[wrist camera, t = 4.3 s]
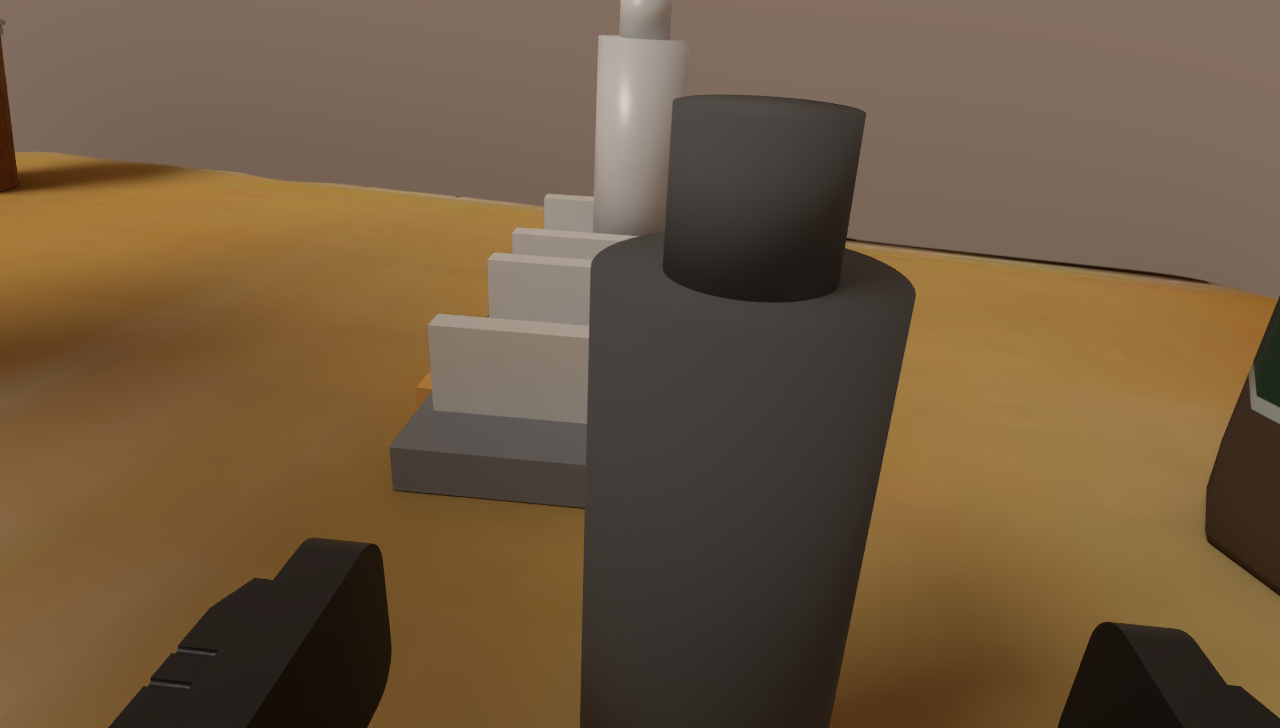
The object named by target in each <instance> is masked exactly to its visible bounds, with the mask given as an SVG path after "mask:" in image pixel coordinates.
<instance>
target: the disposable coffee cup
mask: <svg viewBox="0 0 1280 728" xmlns="http://www.w3.org/2000/svg"><path fill="white" fill-rule="evenodd" d="M2 25H5V21H4V20H0V35H2V34H3V29H2ZM2 52H3V51H2V45H1V36H0V191H3V190H7V189H9V188H12V187H14V186H16V185H18V184H19V182H18V176H17V167H16V160H15V152H14V143H13V135H12V126H11V118H10V110H9V102H8V94H7V85H6V78H5V70H4V61H3V53H2Z"/></svg>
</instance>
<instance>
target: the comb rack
mask: <svg viewBox="0 0 1280 728" xmlns="http://www.w3.org/2000/svg"><path fill="white" fill-rule="evenodd" d="M593 207H594V197H586V196H571V195H558V194H547V196H546V197H545V198H544V229H532V228H518V227H517V228H516V229H515V230H514V231H513V233H512V254H506V253H493V254H492V255H491V257H490V258H489V259H488V260H487V262H488V293H489V316H488V317H487V318H485V317H472V316H460V315H447V314H437V315H436V316H435V318H434V319H433V320H432V321H431V322H430V323H429V324H428V339H429V354H430V369H431V370H430V371H429V372H428V374H427V375H426V376H425V377H424V379H423V380H422V381H421V382H420V384H419V385H418V386H417V387H416V390H417V403H418V410H417V411H416V413H415V414H414V415H413V417H412V418H411V419H410V421H409V422H408V423H407V425H406V426H405V427H404V429H403V430H402V431H401V433H400V434H399V435H398V437H397V438H396V439H395V441H394V442H393V443H392V445H391V446H390V458H391V469H392V479H393V490H401V491H411V492H422V493H432V494H443V495H454V496H464V497H475V498H485V499H496V500H506V501H517V502H527V503H538V504H548V505H559V506H570V507H580V508H585V487H586V443H587V400H588V356H589V312H590V269H591V262H592V261H593V259H594V257H595V256H596V255H597V254H598V253H599V252H600V251H602V250H603V249H605V248H607V247H608V246H611V245H613V244H615V243H618V242H620V241H624V240H627V239H630V238H634V237H639V236H629V235H615V234H601V233H593Z"/></svg>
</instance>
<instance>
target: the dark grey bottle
mask: <svg viewBox="0 0 1280 728" xmlns="http://www.w3.org/2000/svg"><path fill="white" fill-rule="evenodd" d="M865 117H866V113H865V112H864V111H862V110H859V109H857V108H853V107H849V106H844V105H839V104H833V103H827V102H820V101H813V100H804V99H795V98H783V97H768V96H751V95H695V96H685V97H679V98H676V99H674V100H673V105H672V122H671V138H670V154H669V170H668V187H667V203H666V219H665V232H663V233H655V234H649V235H643V236H639V237H634V238H630V239H627V240H624V241H620V242H618V243H615V244H613V245H611V246H608V247H607V248H605V249H603V250H602V251H600V252H599V253H598V254H597V255H596V256H595V257H594V259H593V261H592V262H591V269H590V312H589V356H588V400H587V443H586V487H585V531H584V575H583V619H582V662H581V706H580V728H829V724H830V719H831V714H832V709H833V704H834V699H835V694H836V689H837V684H838V679H839V674H840V669H841V664H842V659H843V654H844V649H845V645H846V640H847V635H848V630H849V625H850V620H851V615H852V610H853V605H854V600H855V595H856V590H857V585H858V580H859V575H860V570H861V565H862V560H863V555H864V550H865V545H866V540H867V535H868V530H869V525H870V520H871V515H872V510H873V505H874V500H875V496H876V491H877V486H878V481H879V476H880V471H881V466H882V461H883V456H884V451H885V446H886V441H887V436H888V431H889V426H890V421H891V416H892V411H893V406H894V401H895V396H896V391H897V386H898V381H899V376H900V371H901V366H902V361H903V356H904V351H905V347H906V342H907V337H908V332H909V327H910V322H911V317H912V312H913V307H914V302H915V297H916V294H915V289H914V287H913V285H912V284H911V282H910V281H909V280H908V279H907V278H906V277H905V276H904V275H903V274H901V273H900V272H898V271H897V270H896V269H894V268H892V267H890V266H889V265H887V264H885V263H883V262H881V261H879V260H876V259H874V258H872V257H869V256H867V255H864V254H861V253H859V252H856V251H852V250H849V249H846V248H845V244H846V237H847V231H848V225H849V218H850V212H851V206H852V199H853V193H854V187H855V180H856V174H857V168H858V162H859V155H860V149H861V142H862V136H863V130H864V124H865Z"/></svg>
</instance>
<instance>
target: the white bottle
mask: <svg viewBox="0 0 1280 728" xmlns="http://www.w3.org/2000/svg"><path fill="white" fill-rule="evenodd" d="M671 11H672V0H621V10H620V33H619V35H599V41H598V76H597V108H596V140H595V141H596V142H595V175H594V176H595V177H594V207H593V233H601V234H615V235H629V236H643V235H649V234H655V233H663V232H665V219H666V203H667V187H668V170H669V154H670V138H671V122H672V105H673V100H674V99H676V98H679V97H685V96H686V91H687V79H688V65H689V52H690V41H689V40H682V39H673V38H670V27H671Z"/></svg>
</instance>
